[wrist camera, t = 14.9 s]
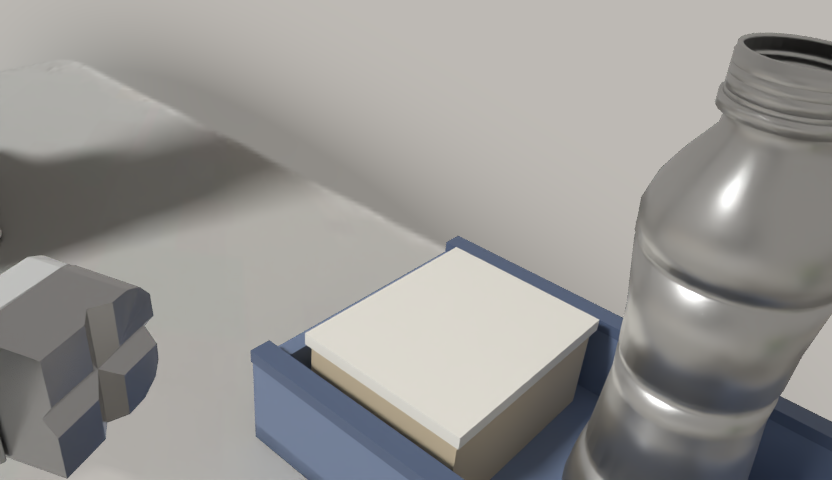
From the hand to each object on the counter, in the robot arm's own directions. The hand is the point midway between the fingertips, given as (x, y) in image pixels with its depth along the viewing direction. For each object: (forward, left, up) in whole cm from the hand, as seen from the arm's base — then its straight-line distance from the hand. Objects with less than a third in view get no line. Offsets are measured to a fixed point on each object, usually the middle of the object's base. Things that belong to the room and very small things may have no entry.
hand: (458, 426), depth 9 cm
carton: (-17, +12, -19) cm, 28 cm away
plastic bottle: (-7, +15, -19) cm, 26 cm away
